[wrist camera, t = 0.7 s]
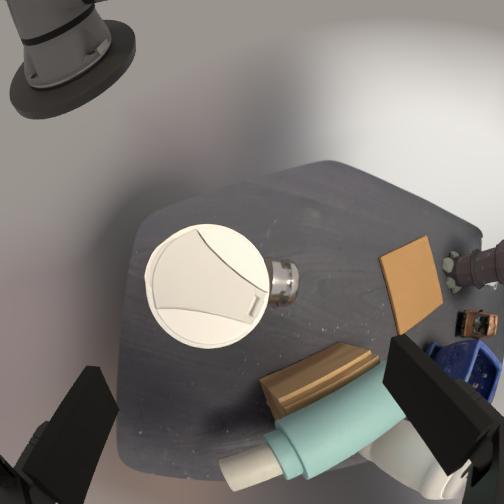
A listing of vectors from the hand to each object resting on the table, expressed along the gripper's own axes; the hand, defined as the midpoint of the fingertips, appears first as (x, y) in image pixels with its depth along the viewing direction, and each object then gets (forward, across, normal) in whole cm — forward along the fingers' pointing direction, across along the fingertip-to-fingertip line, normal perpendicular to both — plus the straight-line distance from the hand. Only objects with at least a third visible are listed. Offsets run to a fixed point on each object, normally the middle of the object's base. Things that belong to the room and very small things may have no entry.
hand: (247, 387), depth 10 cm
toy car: (+23, +44, -19) cm, 53 cm away
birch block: (+16, +7, -16) cm, 23 cm away
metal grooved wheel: (+20, +4, -3) cm, 21 cm away
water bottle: (+14, +14, -24) cm, 32 cm away
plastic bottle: (+9, +6, -14) cm, 18 cm away
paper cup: (+19, -4, -2) cm, 19 cm away
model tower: (+26, +39, -8) cm, 48 cm away
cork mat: (+24, +26, -7) cm, 36 cm away
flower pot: (+18, +29, -24) cm, 42 cm away
